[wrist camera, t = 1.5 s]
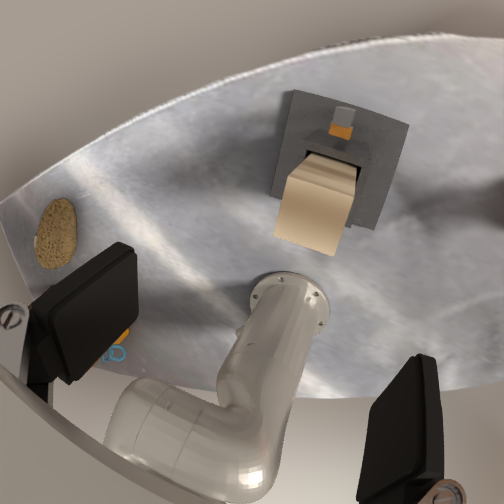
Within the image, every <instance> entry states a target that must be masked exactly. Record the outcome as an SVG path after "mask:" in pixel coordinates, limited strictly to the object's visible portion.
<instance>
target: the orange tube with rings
mask: <svg viewBox="0 0 504 504" xmlns="http://www.w3.org/2000/svg"><path fill="white" fill-rule="evenodd" d="M128 334H129V328H128V329H127V330H126V331H125V332H124V333H123V334H122V335H121V336H120V337H119V338H118V339H117V340H116V341H115V342H114V343H113V344H112V345H111V346H110V348H109V349H108V355H109V357H108V358H107V359H105V353H104V354H103V355H102V356H101V357H102V360H103V361H104V362H109V361H110V360H111V359H112V360H114V361H122V360H123V359H124V358H125V357H126V351H125V349H124V348H123V347H122V346H121V345H119V344H120V343H121V342H122V341H123V340H124V339H125V337H126V336H127V335H128ZM113 348H119V349H121V350H122V352H123V355H122V356H121V357H120V358H116V357H114V356H113V354H114V349H113ZM101 357H100V358H101ZM100 358H99V359H100ZM99 359H98V360H99ZM98 360H97V361H98ZM97 361H96V362H97ZM96 362H95V363H96ZM95 363H94V364H95ZM94 364H93V365H94ZM93 365H92V366H93Z"/></svg>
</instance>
